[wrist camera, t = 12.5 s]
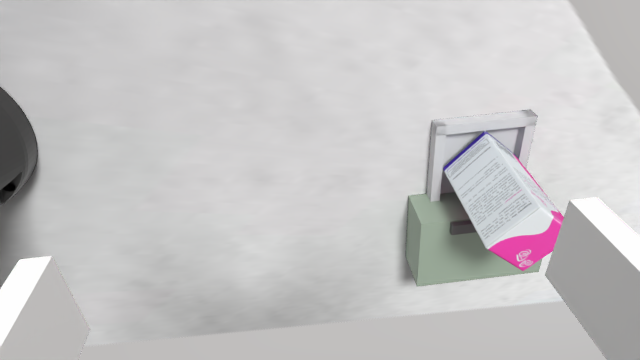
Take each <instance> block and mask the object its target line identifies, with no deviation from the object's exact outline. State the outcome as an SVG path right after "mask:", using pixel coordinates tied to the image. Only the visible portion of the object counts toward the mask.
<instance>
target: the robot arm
mask: <svg viewBox="0 0 640 360" xmlns="http://www.w3.org/2000/svg"><path fill="white" fill-rule="evenodd" d="M36 159H37V146H36V140H35V136H34V133H33V130H32V128H31V126H30V123H29V122H28V120H27V118H26V116H25V115H24V113H23V112H22V110H21V109H20V107H19V106H18V105H17V104H16V102H15V101H14V100H13V99H12V98H11V97H10V96H9V95H8V94H7V93H6V92H5V91H4V90H3V89H2V88H1V87H0V205H2V204H4V203H5V202H7V201H8V200H9V199H11V198H12V197H13V196H14V195H15V194H16V193H17V192H18V191H19V190H20V189H21V187H22V186H23V185H24V184H25V183H26V182H27V180H28V179H29V178H30V176H31V174H32V172H33V170H34V168H35V164H36ZM545 276H546V277H547V279H548V280H549V281H550V283H551V284H552V285H553V287H554V288H555V290H556V291H557V292H558V294H559V295H560V296H561V298H562V299H563V300H564V302H565V303H566V305H567V306H568V307H569V309H570V310H571V311H572V313H573V314H574V315H575V317H576V318H577V319H578V321H579V322H580V324H581V325H582V326H583V328H584V329H585V330H586V332H587V333H588V335H589V336H590V337H591V339H592V340H593V341H594V343H595V344H596V346H597V347H598V348H599V350H600V351H601V352H602V354H603V355H604V357H605V358H606V359H607V360H640V236H639V235H638V234H637V233H636V232H635V231H634V230H632V229H631V228H630V227H629V226H628V225H627V224H626V223H625V222H624V221H623V220H622V219H621V218H619V217H618V216H617V215H616V214H615V213H614V212H613V211H612V210H611V209H610V208H609V207H608V206H606V205H605V204H604V203H603V202H602V201H601V200H600V199H599V198H598V197H594V198H585V199H576V200H569V203H568V206H567V210H566V213H565V216H564V219H563V222H562V225H561V228H560V231H559V234H558V237H557V240H556V243H555V246H554V249H553V252H552V255H551V258H550V261H549V265H548V268H547V271H546V274H545ZM89 331H90V328H89V326H88V324H87V322H86V320H85V318H84V316H83V314H82V313H81V311H80V309H79V307H78V305H77V303H76V301H75V299H74V297H73V295H72V293H71V291H70V289H69V287H68V285H67V284H66V282H65V280H64V278H63V276H62V274H61V272H60V270H59V268H58V266H57V264H56V262H55V260H54V258H53V256H47V257H37V258H28V259H19V261H18V262H17V264H16V266H15V267H14V269H13V270H12V272H11V273H10V275H9V276H8V278H7V279H6V281H5V283H4V284H3V286H2V287H1V289H0V360H78V359H79V357H80V354H81V352H82V349H83V346H84V344H85V341H86V339H87V336H88V333H89Z"/></svg>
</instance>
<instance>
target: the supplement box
mask: <svg viewBox="0 0 640 360" xmlns="http://www.w3.org/2000/svg"><path fill="white" fill-rule="evenodd" d="M443 170H444V172H445V174H446V176H447V178H448V179H449V181H450V183H451V185H452V187H453V189H454V191H455V192H456V194H457V196H458V198H459V200H460V202H461V203H462V205H463V207H464V209H465V211H466V213H467V214H468V216H469V218H470V220H471V222H472V224H473V225H474V227H475V229H476V231H477V233H478V235H479V236H480V238H481V240H482V242H483V244H484V246H485V248H486V249H488V250H489V251H491V252H493V253H494V254H496V255H497V256H499V257H501V258H502V259H504V260H506V261H507V262H509V263H510V264H512V265H514V266H515V267H517V268H519V269H520V270H522V271H524V270H526V269H527V268H529V267H530V266H532V265H533V264H535V263H536V262H537V261H539V260H540V259H542V258H543V257H545V256H546V255H547V254H549V253H550V252H552V251H553V249H554V246H555V243H556V240H557V237H558V234H559V231H560V228H561V225H562V222H563V219H564V217H563V216H562V215H561V213H560V212H559V211H558V209H557V208H556V207H555V206H554V204H553V203H552V202H551V200H550V199H549V198H548V197H547V195H546V194H545V193H544V192H543V190H542V189H541V188H540V186H539V185H538V184H537V183H536V181H535V180H534V179H533V177H532V176H531V175H530V173H529V172H528V171H527V170H526V168H525V167H524V166H523V165H522V163H521V162H520V161H519V159H518V158H517V157H516V155H515V154H513V153H512V152H511V151H510V150H509V149H508V148H506V147H505V146H504V145H503V144H501V143H500V142H499V141H498V140H497V139H495V138H494V137H493V136H492V135H490V134H489V133H488V132H486V131H483V132H482V133H481V134H480V135H479V136H477V137H476V138H475V139H474V140H473V141H472V142H471V143H470V144H469V145H468V146H466V147H465V148H464V149H463V150H462V151H461V152H460V153H459V154H458V155H456V156H455V157H454V158H453V159H452V160H451V161H450V162H449V163H448V164H447V165H445V166H444V168H443Z"/></svg>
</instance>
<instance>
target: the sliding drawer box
mask: <svg viewBox="0 0 640 360" xmlns="http://www.w3.org/2000/svg"><path fill="white" fill-rule="evenodd" d="M537 117H538V116H537V115H536V114H535V113H534V112H532V111H531V110H522V111H513V112H503V113H494V114H485V115H475V116H466V117H456V118H447V119H438V120H432V128H431V141H430V154H429V167H428V180H427V194H420V195H411V196H409V199H408V219H407V240H406V258H407V261H408V263H409V266H410V269H411V272H412V274H413V277H414V280H415V282H416V285H417V286H425V285H433V284H442V283H450V282H458V281H466V280H475V279H483V278H491V277H499V276H508V275H516V274H524V273H533V272H539V268H540V265H541V261H542V259H540V260H539V261H537V262H536V263H535V264H533V265H532V266H530V267H529V268H527V269H526V270H524V271H522V270H520V269H519V268H517V267H515V266H514V265H512V264H510V263H509V262H507V261H506V260H504V259H502V258H501V257H499V256H497V255H496V254H494V253H493V252H491V251H489V250H488V249H486V248H485V246H484V244H483V242H482V240H481V238H480V236H479V235H478V233H477V231H476V229H475V227H474V225H473V224H472V222H471V220H470V218H469V216H468V214H467V213H466V211H465V209H464V207H463V205H462V203H461V202H460V200H459V198H458V196H457V194H456V192H455V191H454V189H453V187H452V185H451V183H450V181H449V179H448V178H447V176H446V174H445V172H444V170H443V168H444V166H445V165H447V164H448V163H449V162H450V161H451V160H452V159H453V158H454V157H455V156H456V155H458V154H459V153H460V152H461V151H462V150H463V149H464V148H465V147H466V146H468V145H469V144H470V143H471V142H472V141H473V140H474V139H475V138H476V137H477V136H479V135H480V134H481V133H482V132H483V131H486V132H488V133H489V134H490V135H492V136H493V137H494V138H495V139H497V140H498V141H499V142H500V143H501V144H503V145H504V146H505V147H506V148H508V149H509V150H510V151H511V152H512V153H513V154H515V155H516V157H517V158H518V159H519V161H520V162H521V163H522V165H523V166H524V167H525V168H526V167H527V163H528V158H529V153H530V149H531V144H532V140H533V135H534V131H535V126H536V122H537Z"/></svg>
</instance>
